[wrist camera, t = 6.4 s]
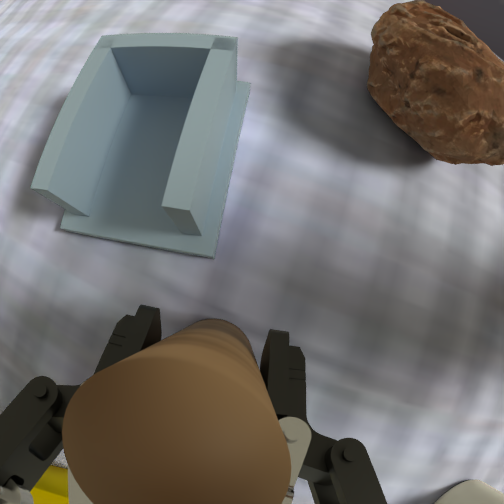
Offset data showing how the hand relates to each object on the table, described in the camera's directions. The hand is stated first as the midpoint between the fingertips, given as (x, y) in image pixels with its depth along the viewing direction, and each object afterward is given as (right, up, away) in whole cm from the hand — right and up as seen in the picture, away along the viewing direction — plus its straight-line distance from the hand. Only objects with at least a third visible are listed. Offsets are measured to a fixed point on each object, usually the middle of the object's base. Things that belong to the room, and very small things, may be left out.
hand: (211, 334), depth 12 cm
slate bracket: (-5, +10, +7) cm, 13 cm away
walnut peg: (-1, -3, +5) cm, 6 cm away
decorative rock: (+15, +14, +9) cm, 22 cm away
